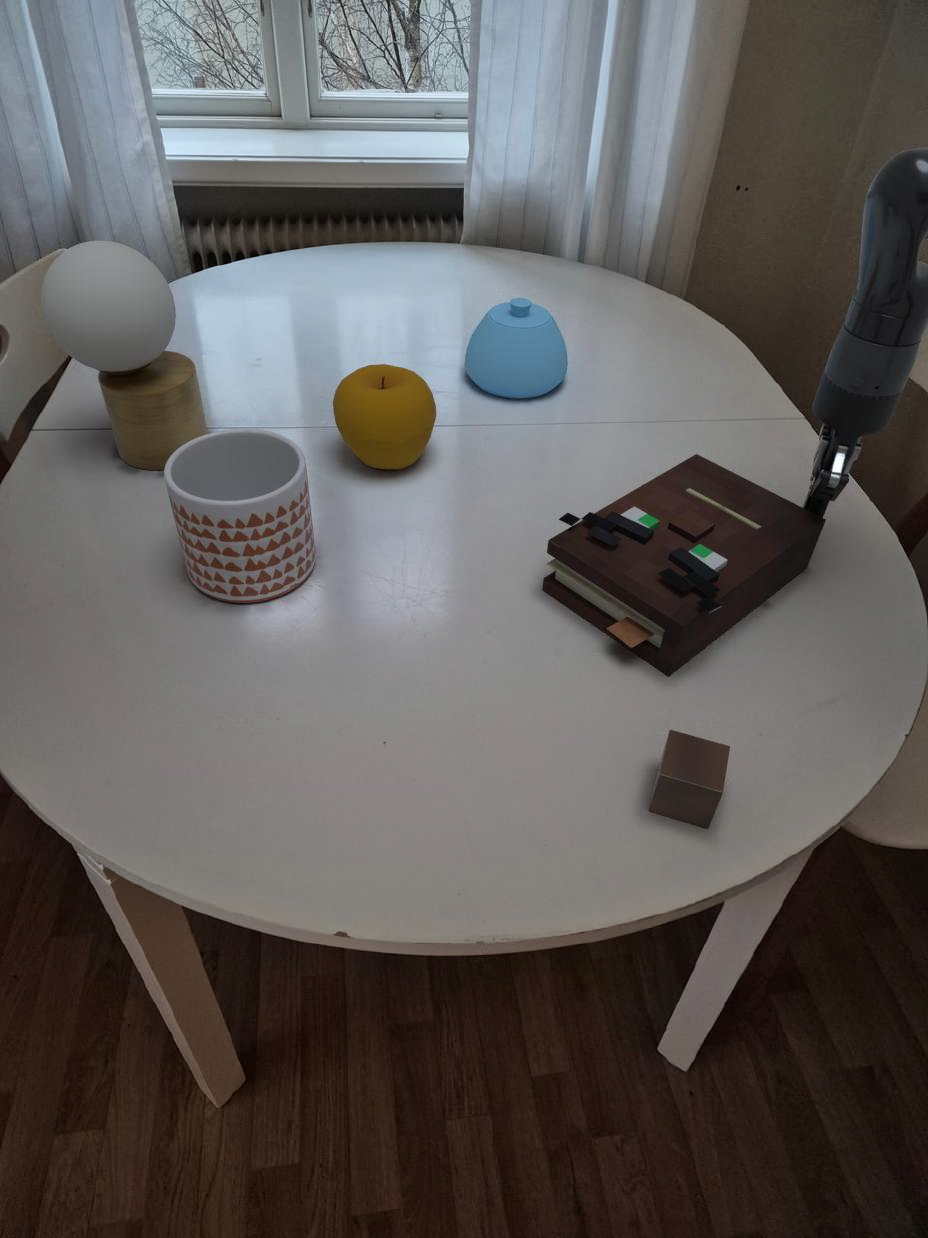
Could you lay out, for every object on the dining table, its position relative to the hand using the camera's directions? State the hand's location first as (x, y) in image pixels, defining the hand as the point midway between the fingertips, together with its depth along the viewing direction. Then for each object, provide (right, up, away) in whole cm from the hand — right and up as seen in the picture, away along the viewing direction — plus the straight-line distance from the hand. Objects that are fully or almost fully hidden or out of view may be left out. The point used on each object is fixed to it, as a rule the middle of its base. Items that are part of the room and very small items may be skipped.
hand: (810, 517), depth 95 cm
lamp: (-79, +11, +15) cm, 81 cm away
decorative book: (-15, -7, -1) cm, 17 cm away
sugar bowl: (-31, +24, +31) cm, 50 cm away
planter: (-61, -5, -2) cm, 62 cm away
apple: (-48, +9, +15) cm, 51 cm away
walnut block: (-20, -26, -23) cm, 40 cm away
